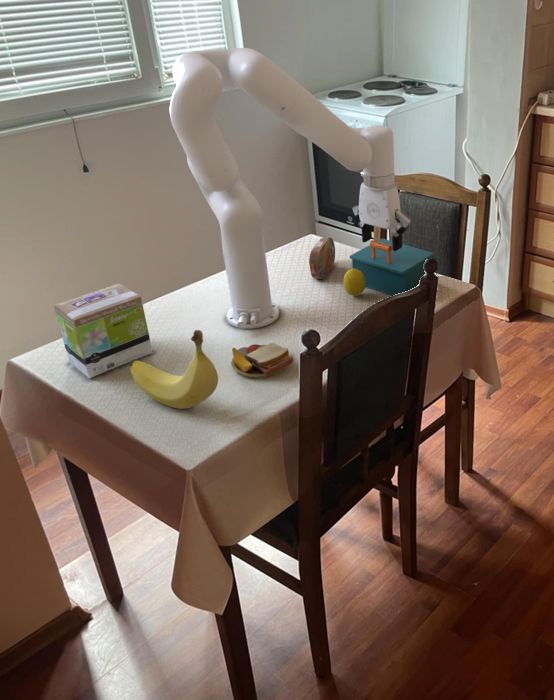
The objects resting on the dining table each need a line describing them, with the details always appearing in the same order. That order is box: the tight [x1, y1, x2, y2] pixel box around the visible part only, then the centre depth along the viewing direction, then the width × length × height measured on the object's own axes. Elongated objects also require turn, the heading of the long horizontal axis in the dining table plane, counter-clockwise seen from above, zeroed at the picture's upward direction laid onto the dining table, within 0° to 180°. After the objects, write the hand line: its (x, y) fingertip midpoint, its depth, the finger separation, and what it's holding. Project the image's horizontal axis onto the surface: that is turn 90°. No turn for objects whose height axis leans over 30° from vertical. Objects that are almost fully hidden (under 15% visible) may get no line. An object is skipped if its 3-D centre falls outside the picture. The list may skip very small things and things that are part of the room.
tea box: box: [53, 282, 153, 379], centre depth 157 cm, size 15×10×15 cm, turn 137°
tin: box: [308, 237, 336, 280], centre depth 196 cm, size 15×3×8 cm, turn 168°
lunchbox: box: [351, 255, 435, 296], centre depth 191 cm, size 13×17×7 cm
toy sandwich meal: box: [230, 342, 294, 379], centre depth 157 cm, size 12×14×5 cm
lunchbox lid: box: [349, 237, 435, 275], centre depth 187 cm, size 14×17×6 cm
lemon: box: [342, 268, 366, 298], centre depth 183 cm, size 6×6×8 cm
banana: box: [129, 329, 219, 409], centre depth 141 cm, size 23×6×20 cm, turn 62°
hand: (382, 244), depth 183 cm, fingers open, 9 cm apart
